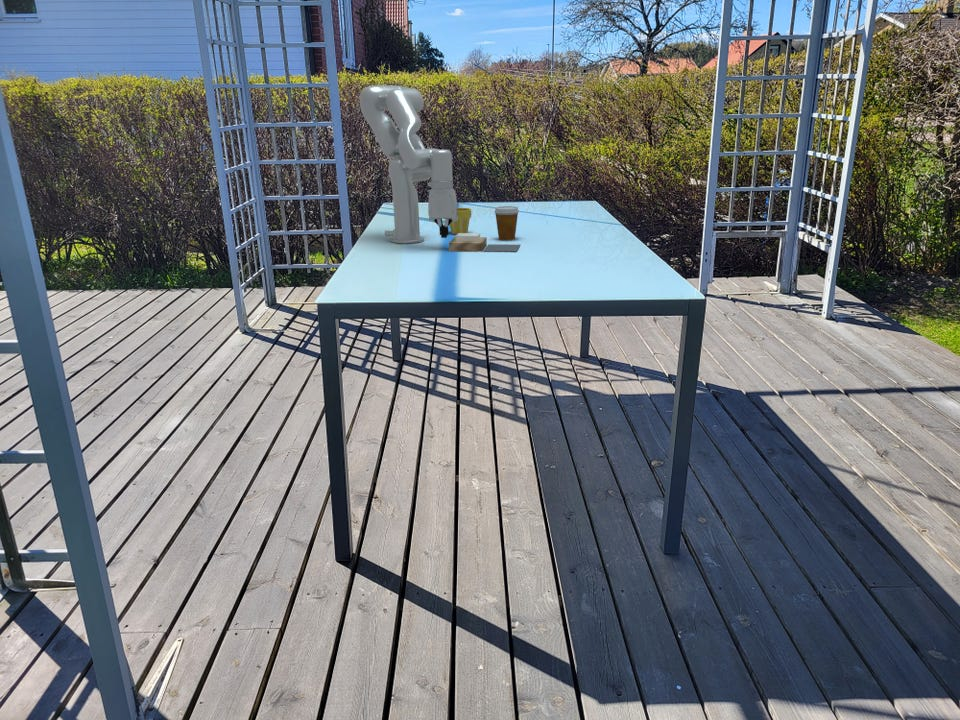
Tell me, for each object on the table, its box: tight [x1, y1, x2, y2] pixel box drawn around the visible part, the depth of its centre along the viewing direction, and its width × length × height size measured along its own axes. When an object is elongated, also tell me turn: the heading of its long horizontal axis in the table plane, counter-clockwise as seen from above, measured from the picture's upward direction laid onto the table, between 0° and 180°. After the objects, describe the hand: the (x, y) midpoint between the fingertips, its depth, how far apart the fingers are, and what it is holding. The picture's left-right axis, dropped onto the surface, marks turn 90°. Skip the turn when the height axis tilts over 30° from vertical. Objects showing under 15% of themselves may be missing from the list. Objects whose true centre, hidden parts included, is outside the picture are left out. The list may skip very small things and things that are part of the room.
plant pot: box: [449, 207, 472, 235], centre depth 289 cm, size 10×10×10 cm
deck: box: [448, 236, 488, 253], centre depth 258 cm, size 12×12×3 cm
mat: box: [482, 243, 521, 253], centre depth 257 cm, size 12×13×1 cm
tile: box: [455, 232, 481, 242], centre depth 257 cm, size 8×6×2 cm
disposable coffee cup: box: [493, 205, 520, 241], centre depth 273 cm, size 10×10×12 cm
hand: (444, 237), depth 258 cm, fingers closed
